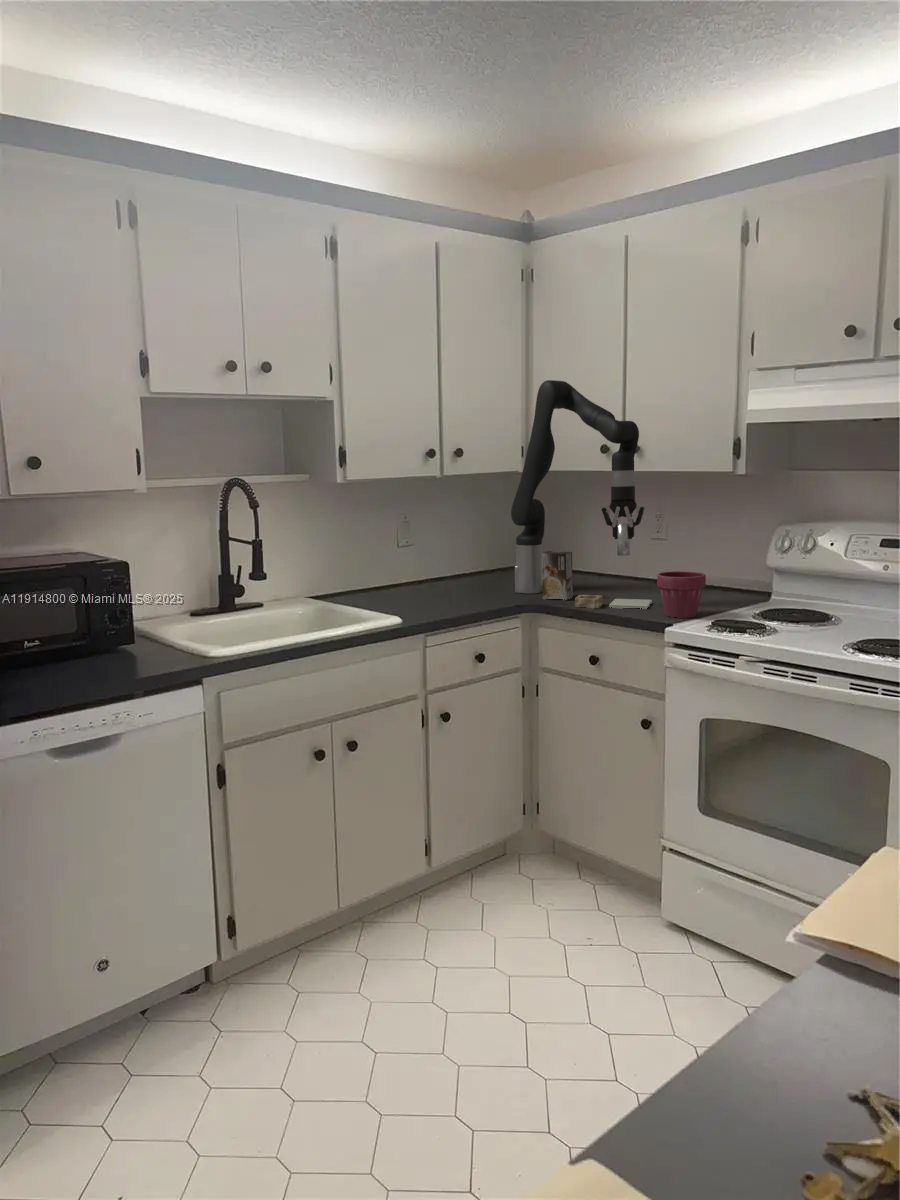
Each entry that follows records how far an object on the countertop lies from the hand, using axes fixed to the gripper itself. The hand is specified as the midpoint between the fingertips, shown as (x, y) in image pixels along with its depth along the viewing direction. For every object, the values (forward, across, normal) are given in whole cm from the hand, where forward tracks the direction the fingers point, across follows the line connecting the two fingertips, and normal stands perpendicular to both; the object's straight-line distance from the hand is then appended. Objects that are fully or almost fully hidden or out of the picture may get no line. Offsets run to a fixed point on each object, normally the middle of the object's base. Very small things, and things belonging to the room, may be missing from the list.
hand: (623, 538), depth 284 cm
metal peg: (+5, 0, 0) cm, 5 cm away
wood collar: (+22, +11, +3) cm, 24 cm away
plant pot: (+23, -19, +12) cm, 32 cm away
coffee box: (+22, +24, -9) cm, 34 cm away
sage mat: (+22, -2, -2) cm, 22 cm away
